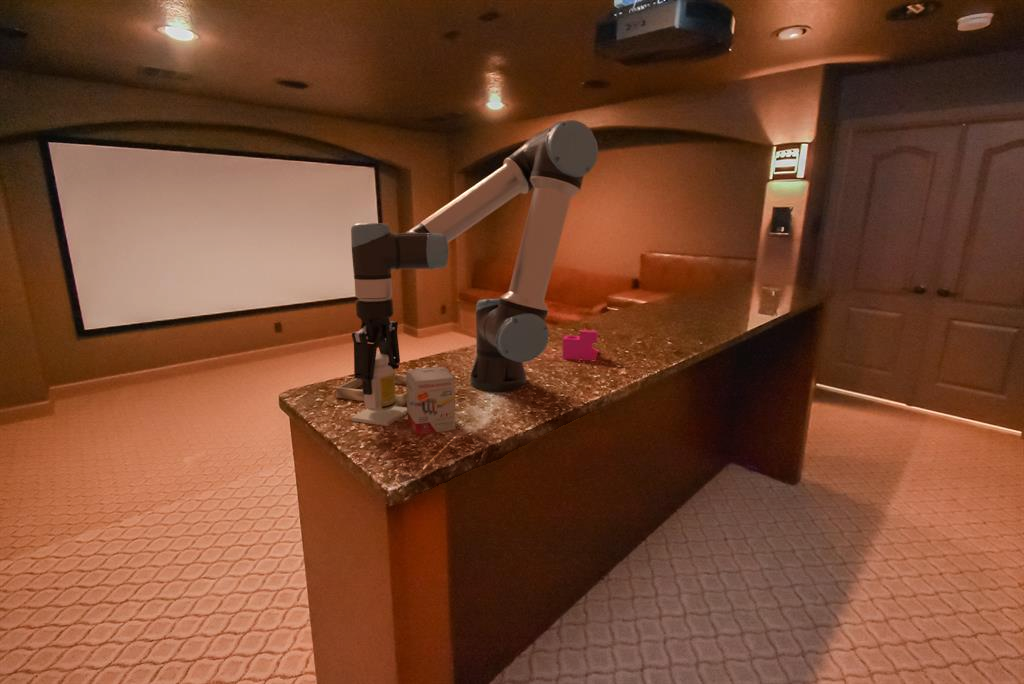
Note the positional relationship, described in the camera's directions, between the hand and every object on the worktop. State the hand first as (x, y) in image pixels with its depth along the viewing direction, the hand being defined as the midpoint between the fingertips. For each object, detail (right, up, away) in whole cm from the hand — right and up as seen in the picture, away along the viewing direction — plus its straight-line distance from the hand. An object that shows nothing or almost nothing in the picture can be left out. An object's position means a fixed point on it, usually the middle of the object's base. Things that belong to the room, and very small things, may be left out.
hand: (380, 401), depth 105 cm
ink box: (+12, -5, -4) cm, 13 cm away
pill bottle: (0, -1, 0) cm, 1 cm away
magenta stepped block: (+51, +8, +50) cm, 72 cm away
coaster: (0, -3, +1) cm, 3 cm away
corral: (-3, 0, +16) cm, 17 cm away
